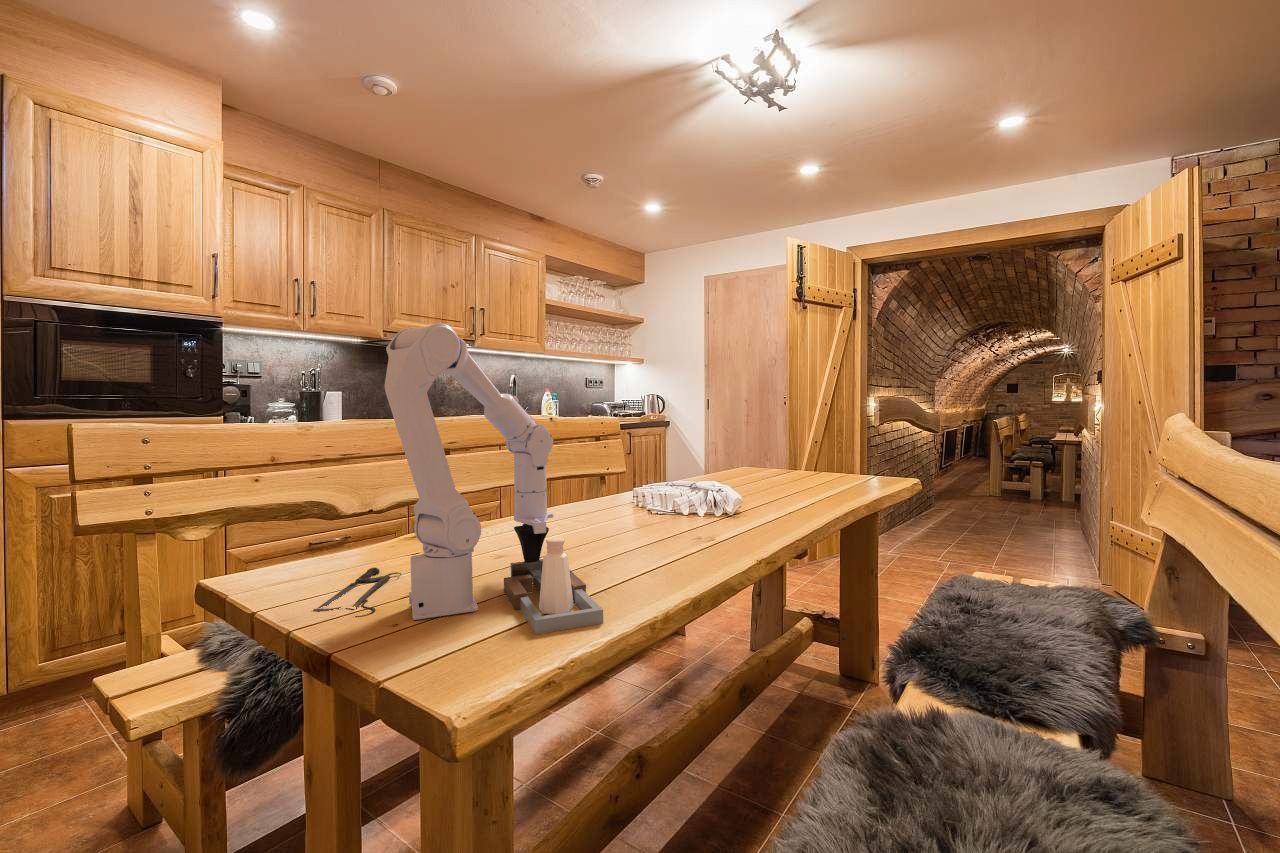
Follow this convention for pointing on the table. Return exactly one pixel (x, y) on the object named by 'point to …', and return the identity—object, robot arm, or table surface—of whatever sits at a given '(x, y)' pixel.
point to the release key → (529, 570)
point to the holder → (531, 587)
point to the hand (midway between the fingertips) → (531, 565)
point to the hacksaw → (362, 600)
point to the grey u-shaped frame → (563, 615)
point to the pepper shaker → (555, 579)
